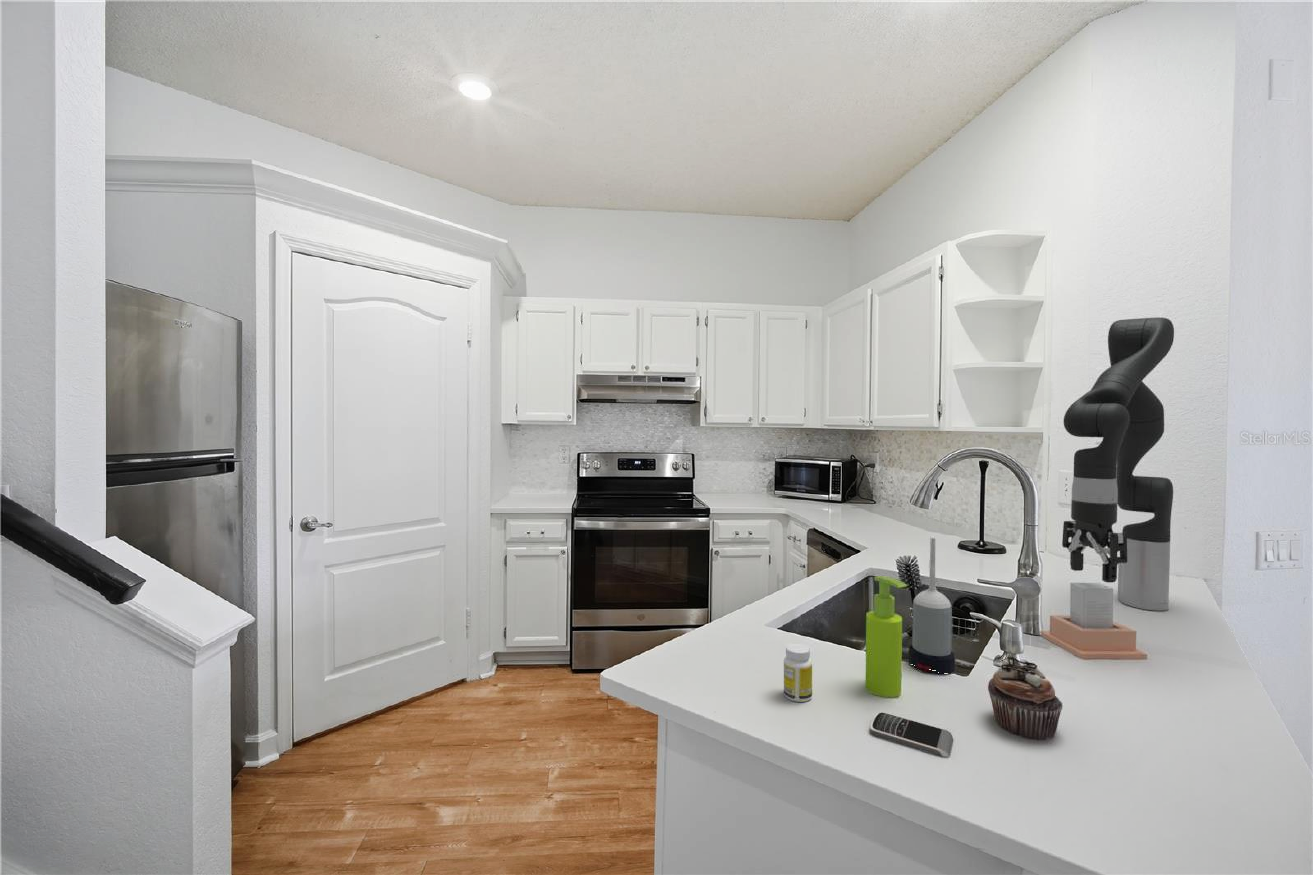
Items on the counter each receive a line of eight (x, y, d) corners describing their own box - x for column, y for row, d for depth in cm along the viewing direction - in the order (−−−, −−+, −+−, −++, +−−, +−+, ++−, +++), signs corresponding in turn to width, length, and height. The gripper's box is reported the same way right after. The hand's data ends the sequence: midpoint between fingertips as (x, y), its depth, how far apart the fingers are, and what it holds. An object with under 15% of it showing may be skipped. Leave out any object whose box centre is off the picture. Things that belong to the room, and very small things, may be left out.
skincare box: (1097, 637, 118) (1098, 582, 117) (1113, 645, 113) (1114, 588, 113) (1068, 637, 118) (1069, 582, 118) (1082, 645, 114) (1084, 588, 113)
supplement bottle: (812, 691, 96) (813, 644, 96) (811, 705, 92) (811, 655, 92) (785, 687, 98) (785, 641, 98) (782, 700, 93) (782, 651, 93)
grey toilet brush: (915, 673, 103) (917, 541, 103) (903, 655, 111) (905, 532, 111) (961, 676, 102) (964, 543, 101) (946, 657, 110) (948, 534, 109)
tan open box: (1040, 635, 122) (1040, 613, 121) (1099, 635, 121) (1099, 613, 121) (1081, 658, 110) (1082, 634, 109) (1147, 659, 109) (1147, 634, 109)
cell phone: (876, 718, 88) (876, 710, 88) (954, 741, 82) (954, 732, 82) (867, 737, 83) (867, 727, 83) (949, 762, 77) (949, 752, 77)
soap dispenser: (890, 703, 92) (892, 585, 92) (858, 685, 98) (859, 575, 98) (913, 695, 95) (915, 581, 94) (881, 678, 101) (882, 571, 101)
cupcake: (1065, 751, 79) (1066, 682, 79) (986, 731, 84) (987, 666, 84) (1059, 720, 87) (1060, 658, 87) (987, 703, 92) (988, 645, 92)
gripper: (1142, 504, 107) (1139, 586, 108) (1085, 494, 122) (1084, 566, 122) (1103, 504, 107) (1101, 586, 108) (1051, 494, 122) (1050, 566, 122)
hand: (1092, 575), depth 115 cm, fingers open, 8 cm apart
